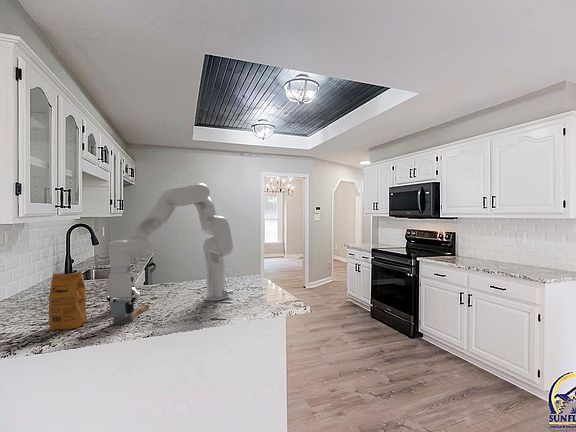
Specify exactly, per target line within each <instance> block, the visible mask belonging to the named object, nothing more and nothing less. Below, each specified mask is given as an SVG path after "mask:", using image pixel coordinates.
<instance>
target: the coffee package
mask: <svg viewBox="0 0 576 432" xmlns="http://www.w3.org/2000/svg"><path fill="white" fill-rule="evenodd" d="M85 286H86V285H85V281H84V279H83V273H82V272H81V271H77V272H71V273H67V274H66V273H63V274H62V273H55V272H54V273H53V275H52V279H51V282H50V289H49V295H48V323H49V331H50V330H52V331H57V330H61V331H66V330H65V329H68V330H73V328H74V329H78V328H80V327H81V326H82V325H83V324H84V323H86V322H87V321H88V317H87V309H86V306H87V302H86V301H87V298H86V294H87V293H86V291H87V289H86V287H85ZM62 329H63V330H62Z"/></svg>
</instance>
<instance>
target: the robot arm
mask: <svg viewBox="0 0 576 432" xmlns="http://www.w3.org/2000/svg"><path fill="white" fill-rule="evenodd" d="M210 193H211V191H210V189H209V187H208V185H206V184H205V183H194V184H189V185H185V186H181V187H173V188H166V190H163V192H161V194H160V196H159V198H158V199H157V200H156V202H155V203H154V205H153V206H152V208H151V209H150V211H149V212H148V213H147V214H146V215H145V217H144V218H142V220H140V222H139V223H138V224H136V226H135V227H134V228H133V230H132V231H131V232H130V235H129V236H128V237H127V239H118V240H117V239H116V240H111V241H110V242H109V244H108V248H109V250H108V251H109V270H110V271H109V272H110V273H109V274H108V278H107V279H108V280H107V290H106V292H104V294H103V297H104V298H105V299H106V301H107V302H108V305H109V304H110V305H111V303H112V302H114V301H116V300H117V298H126V299H127V301H128V303H129V304H128V305H127V312H128V314H130V313H132V312H133V310H134V309H135V305H134V303H135V302H136V301H137V299H138V298H139V297H140V296H141V293H140V292H139V290H137V283H136V278H135V274H134V272H133V271H134V266H132V265H131V264H132V263H131V257H143V256H146V255H148V254H149V253H150V252H151V250H152V244H151V242H150V241H149V240H148V239H149V237H150V236H151V235H152V234H153V233H154V232H156V231H157V230H159V229H161V228H162V227H164V226H165V225H166V224H167V222H169V220H170V218H171V217H172V214H173V213H174V211H176V208H177V207H184V206H189V205H193V206H194V207H195V208H196V211H197V214H198V218H199V222H200V226H201V231H202V232H203V233H204V234H206V235H208V236H209V237H207V238H206V239H205V240H204V241H203V244H202V250H203V254H204V261H205V262H204V263H205V279H206V282H205V283H206V294H204V295H203V299H204V300H205V301H209V302H217V301H222V300H225V299H228V298H229V296H230V295H234V294H235V293H234V292H235V291H234V290H233V289H228V287H226V271H225V269H226V268H225V267H226V264H225V258H224V257H228V256H230V255H231V253H232V252H233V249H234V242H233V238H232V231H231V228H230V223H229V222H228V219H226V218H225V217H224V216H222V215H221V216H220V215H217V211H216V209H215V205H214V202H213V200H212V199H211V198H210Z"/></svg>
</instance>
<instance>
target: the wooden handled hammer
mask: <svg viewBox="0 0 576 432" xmlns="http://www.w3.org/2000/svg"><path fill="white" fill-rule="evenodd" d="M149 309H150V306H149V304H140V305H138V306H137V307H134V313H132V314H131V315H129V316H127V317H126V318H113V325H114V326H124V324H125V325H129V324H131V323H132V322H133V320H134V319H135V318H137V317H138V316H140V315H142V314H143V313H144V311H145V312H146V311H148V310H149ZM136 316H137V317H136ZM130 322H131V323H130Z"/></svg>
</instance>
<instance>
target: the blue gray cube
mask: <svg viewBox="0 0 576 432" xmlns="http://www.w3.org/2000/svg"><path fill="white" fill-rule="evenodd" d="M128 304H129V303H128V301H127V299H118V300H116V301H114V302H112V303H111V311H110V313H111V315H110V317H111V318H113V319H114V318H126V317H127V316H129V315H131V314H132V313H134V310H133V312H132V313H130V314H128V312H127V305H128Z"/></svg>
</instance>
